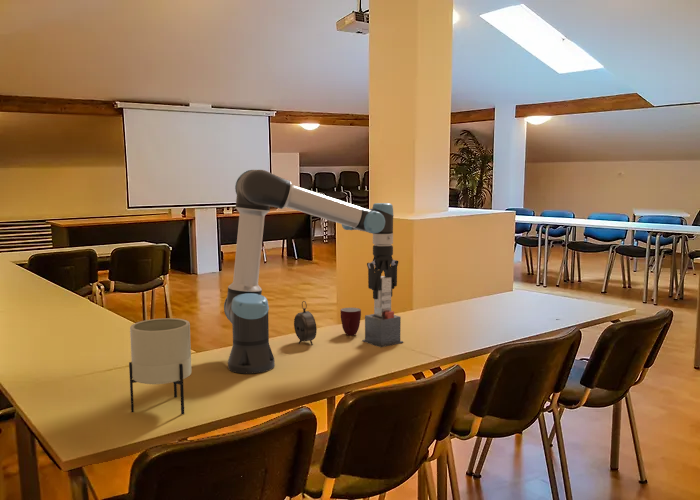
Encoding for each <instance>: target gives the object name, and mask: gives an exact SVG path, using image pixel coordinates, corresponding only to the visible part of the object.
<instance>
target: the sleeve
mask: <svg viewBox="0 0 700 500" xmlns="http://www.w3.org/2000/svg"><path fill="white" fill-rule="evenodd" d="M401 318H402V317H401V316H400V315H395V311H393V310H391V311H387V312H385V318H383V319H380V318H377V317H374V313H372V314H366V315H365V316H364V339H362V340H361V342H363V343H365V344H369V345H372V346H374V347H378V348H385V347H389V346H394V345H399V344H404V341H403V340H401V320H402V319H401Z"/></svg>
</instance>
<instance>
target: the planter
mask: <svg viewBox="0 0 700 500" xmlns="http://www.w3.org/2000/svg"><path fill="white" fill-rule="evenodd" d="M129 333H130V337H129V338H130V353H131V355H130V357H131V358H130V359H131V362H128V365H129V366H128V367H129V372H128V374H129V393H130V410H131V411H130V413H134V412H135V407H134V406H135V405H134V404H135V403H134V385H133V384H134V383H140V384H144V385H163V384H164V385H165V384H170V383H171V384H172V383H173V396H174V398H177V397H178V387H177V386H178V385H179V389H180V390H179V391H180V394H179V395H180V415H182V414H183V415H185V395H184V394H185V392H184V391H185V390H184V380H185V379H186V378H188V377H190V375H192V348H191V345H192V344H191V324H190V321H189V320H186V319H183V318H177V317H176V318H174V317H173V318H172V317H171V318H170V317H169V318H168V317H167V318H166V317H165V318H153V319H145V320H140V321H137V322H135V323H133V324H131V325H130V326H129Z"/></svg>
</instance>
